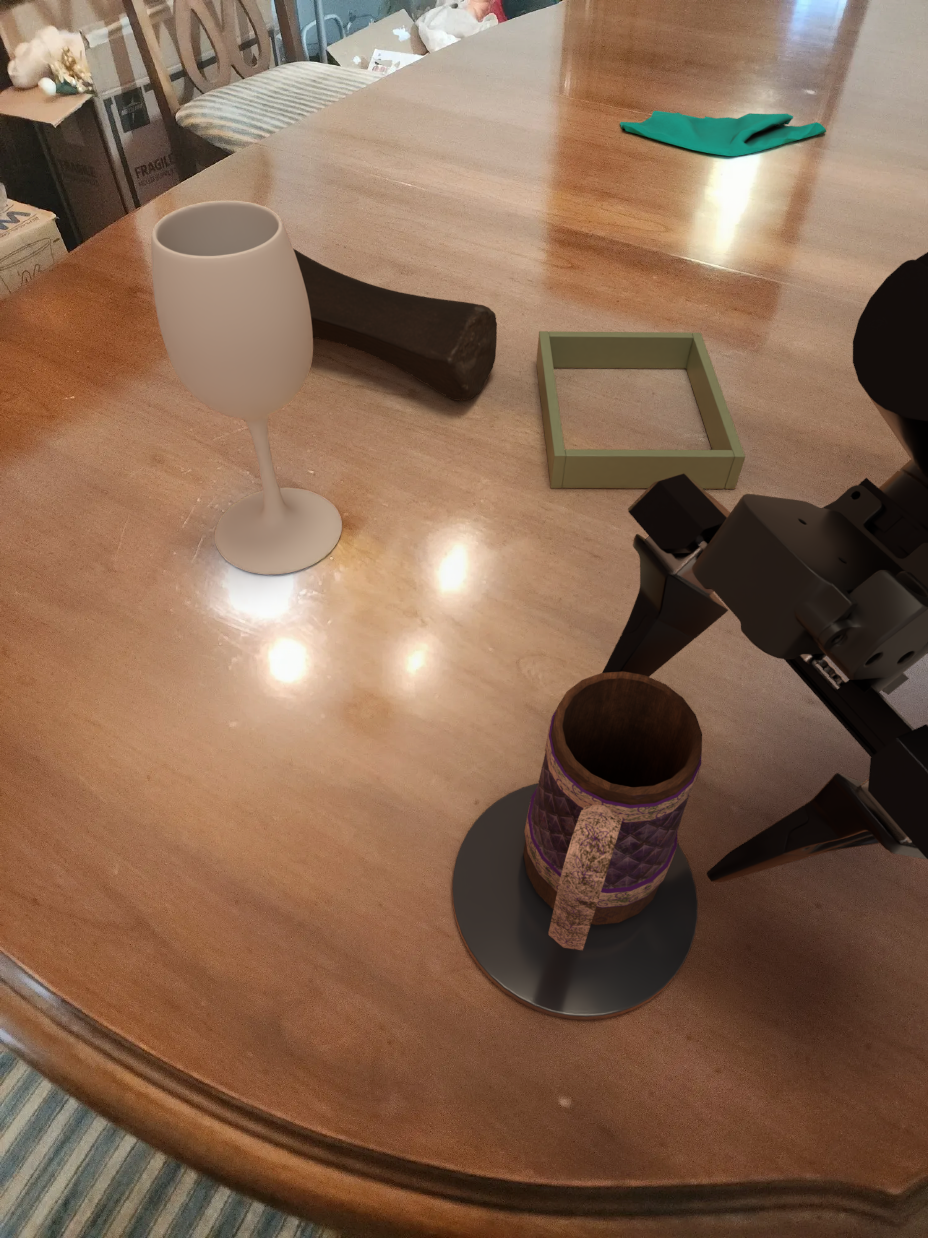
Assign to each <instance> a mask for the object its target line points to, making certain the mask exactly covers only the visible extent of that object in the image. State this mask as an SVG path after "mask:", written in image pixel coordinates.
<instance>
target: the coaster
mask: <svg viewBox="0 0 928 1238" xmlns="http://www.w3.org/2000/svg"><path fill="white" fill-rule="evenodd" d="M537 786H538V782H536V783H531V784H529V785H526V786H523V787H520V788H518V789H515V790H513V791H511V792H509V793H507V794H505V795H504V796H502V797H501V798H499V799H498V800H496V801H494V802H493V803H492V804H491V805H490V806H489V807H487V808H486V809H485V810H484V811H483V812H482V813H481V814H480V815H479V816H478V817H477V819H476V820H475V821H474V822H473V824H472V825H471V826H470V827H469V829H468V831H467V832H466V834H465V836H464V838H463V840H462V842H461V844H460V846H459V849H458V852H457V855H456V858H455V860H454V861H455V862H454V866H453V871H452V883H451V896H452V909H453V914H454V919H455V924H456V926H457V929H458V932H459V935H460V938H461V940H462V942H463V944H464V946H465V948H466V950H467V952H468V954H469V955H470V957H471V958H472V960H473V961H474V963H475V964H476V965H477V967H478V968H479V969H480V971H481V972H482V973H483V974H484V975H485V976H486V978H487V979H488V980H489V981H490V982H491V983H493V984H494V985H495V986H496V987H497V988H498V989H499V990H501V991H502V992H503V993H504V994H506V995H507V996H509V997H510V998H512V999H513V1000H515V1001H516V1002H518V1003H520V1004H522V1005H523V1006H526V1007H528V1008H530V1009H532V1010H534V1011H536V1012H539V1013H543V1014H546V1015H548V1016H552V1017H557V1018H562V1019H567V1020H578V1021H579V1020H580V1021H592V1020H604V1019H608V1018H612V1017H617V1016H622V1015H623V1014H627V1013H630V1012H631V1011H634V1010H637V1009H638V1008H640V1007H642V1006H643V1005H645V1004H647V1003H650V1001H651V1000H653V999H655V998H656V997H657V996H658V995H659V994H661V993H662V992H663V991H664V990H665V989H666V988H667V987H668V985H670V983H671V982H672V981H673V980H674V979H675V977H676V976H677V975H678V973H679V971H680V970H681V969H682V967H683V966H684V963H686V960H687V958H688V955H689V953H690V951H691V949H692V947H693V943H694V941H695V940H694V939H695V936H696V931H697V926H698V920H699V919H698V918H699V915H698V914H699V902H698V893H697V892H698V891H697V886H696V882H695V879H694V875H693V871H692V868H691V866H690V864H689V861H688V859H687V856H686V855H685V853H684V851H683V850H682V848H681V846H680V844H679V842H677V848H676V850H675V853H674V856H673V859H672V862H671V864H670V866H669V869H668V871H667V873H666V875H665V878H664V880H663V882H661V883H660V885H659V887H658V889H657V892H656V894H655V896H654V898H653V900H652V901H651V902H650V903H649V904H648V905H647V906H646V907H645V908H644V909H643V910H642V911H641V912H640V913H639V914H637V915H635V916H632V917H630V918H628V919H626V920H624V921H621V922H619V923H611V924H600V925H594V924H591V925H590V928H589V932H588V935H587V938H586V941H585V944H584V947H583V950H577V949H570V948H563V947H562V946H561V945H560V944H559V943H557V942H556V941H555V940H554V939H553V938H552V937H550V936H549V928H550V924H551V919H552V915H553V910H554V909H552V907H551V906H550V905H549V904H548V903H547V902H546V901H545V900H544V899H543V898H542V897H541V896H540V895H539V894H538V893H537V892H536V890H535V888H534V886H533V884H532V882H531V880H530V879H529V877H528V875H527V872H526V866H525V860H524V853H523V852H524V846H525V841H526V839H525V833H524V831H525V826H526V821H527V815H528V810H529V805H530V801H531V796H532V795H533V793H534V791H535V790H536V788H537Z"/></svg>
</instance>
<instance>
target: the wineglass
mask: <svg viewBox="0 0 928 1238" xmlns="http://www.w3.org/2000/svg"><path fill="white" fill-rule="evenodd" d="M293 248H294V246H293V244H292V241H291V239H290V236H289V233H288V231H287V229H286V226H285V224H284V222H283V220H282V219H281V217H280V216H279V214H277V213H276V212H275V211H274V210H272V209H271V208H269V207H267V206H264V205H261V204H259V203H255V202H250V201H244V200H234V199H228V200H227V199H222V200H221V199H219V200H218V199H217V200H210V201H209V200H208V201H203V202H196V203H193V204H188V205H186V206H182V207H180V208H177V209H175V210H173V211H171V212H169V213H167V214H166V215H164V216H163V217H161V218H160V219H159V220H158V221H157V222H156V223H155V225H154V226H153V229H152V231H151V236H150V251H151V252H150V253H151V254H150V255H151V275H152V276H151V277H152V289H153V297H154V305H155V311H156V316H157V322H158V326H159V330H160V333H161V337H162V340H163V345H164V347H165V350H166V353H167V356H168V358H169V361H170V363H171V367H172V368H173V371H174V372H175V375H176V376H177V378H178V379H179V381H180V383H181V385H183V387H184V388H185V389H186V391H187V392H188V393H189V394H190V395H191V396H192V397H193V398H195V400H196V401H198V402H199V403H200V404H202V405H204V406H205V407H207V408H208V409H210V410H212V411H213V412H215V413H218V414H220V415H222V416H225V417H229V418H233V419H237V420H243V421H244V422H245V424H246V426H247V429H248V431H249V435H250V437H251V440H252V444H253V447H254V451H255V455H256V461H257V465H258V472H259V476H260V482H261V490H260V491H257V492H254V493H251V494H248V495H247V496H244V497H242V498H241V499H239V500H238V501H236V502H235V503H233V504H232V505H230V507H228V509H226V511H224V513H223V514H222V515H221V516H220V519H219V520H218V522H217V524H216V527H215V531H214V542H215V546H216V548H217V550H218V552H219V554H220V555H221V556H222V558H224V560H226V561H227V562H228V563H229V564H231V565H232V566H233V567H236V568H238V569H240V570H242V571H244V572H248V573H253V574H259V575H269V576H270V575H284V574H290V573H294V572H298V571H301V570H304V569H306V568H309V567H311V566H313V565H315V564H316V563H318V562H320V561H321V560H322V559H324V558H325V557H327V556H328V555H329V554H330V553H331V552H332V551H333V549H334V548H335V546H337V544H338V542H339V540H340V537H341V536H342V531H343V522H342V517H341V513H340V512H339V510H338V508H337V507H336V506H335V505H334V504H333V502H331V500H329V499H327V498H325V497H324V496H323V495H321V494H319V493H316V492H314V491H311V490H308V489H304V488H299V487H298V488H297V487H280V485H279V482H278V478H277V474H276V470H275V464H274V461H273V455H272V449H271V443H270V436H269V418H270V416H271V415H273V414H275V413H278V412H280V411H281V410H283V409H284V408H285V407H286V406H288V405H289V404H290V403H291V402H292V401H293V400H294V398H295V397H296V396H297V395H298V394H299V393H300V392H301V390H302V388H303V386H304V385H305V384H306V381H307V379H308V377H309V375H310V370H311V367H312V362H313V359H314V358H313V356H314V338H313V333H312V322H311V314H310V308H309V302H308V297H307V292H306V288H305V284H304V281H303V277H302V274H301V270H300V267H299V264H298V261H297V258H296V255H295V252H294V250H293Z"/></svg>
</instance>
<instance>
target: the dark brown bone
mask: <svg viewBox="0 0 928 1238" xmlns="http://www.w3.org/2000/svg"><path fill="white" fill-rule="evenodd" d="M293 250H294V252H295V255H296V258H297V261H298V264H299V267H300V270H301V274H302V277H303V281H304V284H305V288H306V292H307V297H308V302H309V308H310V314H311V322H312V333H313V339H317V340H323V341H326V342H327V341H328V342H331V343H335V344H339V345H341V346H345V347H348V348H351V349H354V350H357V351H360V352H363V353H366V354H367V355H370V356H372V357H374V358H377V359H378V360H382V361H383V362H386V363H387V364H390V365H392V366H394V367H396V368H397V369H399V370H401V371H403V372H404V373H406V374H409V375H410V376H412V377H413V378H415V379H417V380H419V381H420V382H422V383H423V384H425V385H427V386H429V387H431V388H432V389H433V390H434V391H435V392H438V393H440V394H441V395H443V396H445V397H447V398H448V399H451V400H455V401H468V400H471V399H473V398H474V397H475V396H476V395H478V394H479V393H481V391H482V389H483V388H484V386H485V385H486V383H487V381H488V379H489V377H490V375H491V373H492V371H493V369H494V364H495V362H496V355H497V338H498V336H497V334H498V323H497V315H496V313H495V312H494V311H493V310H492V309H491V308H490V307H488V306H487V305H483V304H478V303H473V302H465V301H460V300H459V301H458V300H451V299H443V298H437V297H435V298H434V297H430V296H429V297H428V296H423V295H417V294H411V293H405V292H401V291H396V290H393V289H388V288H385V287H381V286H378V285H374V284H371V283H368V282H366V281H362V280H359V279H357V278H354V277H351V276H349V275H346V274H344V273H342V272H339V271H337V270H334V269H333V268H330V267H328V266H326V265H323V264H322V263H320V262H318V261H316V260H314V259H312V258H311V257H309V256H307V255H306V254H303V253H302V252H300V251H298V250H296V248H294V247H293Z"/></svg>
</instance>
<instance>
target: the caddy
mask: <svg viewBox="0 0 928 1238" xmlns="http://www.w3.org/2000/svg"><path fill="white" fill-rule="evenodd" d="M536 350H537V351H536V360H535V361H536V372H537V381H538V389H539V398H540V407H541V414H542V415H541V416H542V424H543V432H544V441H545V451H546V457H547V467H548V476H549V486H550V489H648V488H649V487H650V486H651V485H652V484H653V483H654V482H656V481H659V480H663V479H666V478H669V477H673V476H676V475H680V474H685V475H687V476H688V477H689V478H690V479H691V480H693V481H694V482H695V483H696V484H698V485H699V486H700V487H701V488H702V489H704V490H705V489H707V490H709V489H710V490H713V489H714V490H724V489H725V490H735V489H736V487H737V485H738V481H739V477H740V476H741V475H740V474H741V472H742V470H743V466H744V463H745V460H746V454H745V451H744V449H743V446H742V443H741V440H740V438H739V435H738V432H737V429H736V426H735V423H734V421H733V418H732V415H731V412H730V409H729V407H728V404H727V402H726V398H725V395H724V393H723V390H722V388H721V385H720V382H719V379H718V376H717V374H716V370H715V368H714V365H713V362H712V359H711V357H710V354H709V351H708V348H707V345H706V343H705V339H704V337H703V335H702V333H701V332H688V331H687V332H683V331H682V332H681V331H680V332H675V331H673V332H671V331H668V332H667V331H651V332H650V331H562V330H561V331H557V330H556V331H551V330H539V331H538V339H537V349H536ZM555 369H667V370H668V369H673V370H674V369H680V370H681V369H682V370H683V369H685V370H686V373H687V376H688V379H689V382H690V385H691V388H692V391H693V394H694V397H695V400H696V404H697V407H698V410H699V413H700V417H701V420H702V423H703V426H704V429H705V432H706V434H707V438H708V440H709V444H710V447H711V449H625V448H624V449H618V448H616V449H614V448H613V449H612V448H611V449H607V448H605V449H604V448H602V449H601V448H600V449H599V448H592V449H591V448H579V449H578V448H566V447H565V441H564V433H563V427H562V426H563V425H562V420H561V412H560V405H559V397H558V391H557V382H556V375H555Z"/></svg>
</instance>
